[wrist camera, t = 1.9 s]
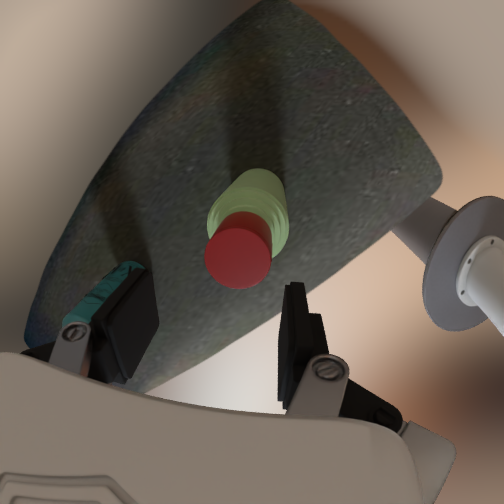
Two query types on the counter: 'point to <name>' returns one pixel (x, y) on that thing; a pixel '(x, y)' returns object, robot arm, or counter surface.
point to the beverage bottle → (100, 293)
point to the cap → (240, 250)
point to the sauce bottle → (254, 204)
